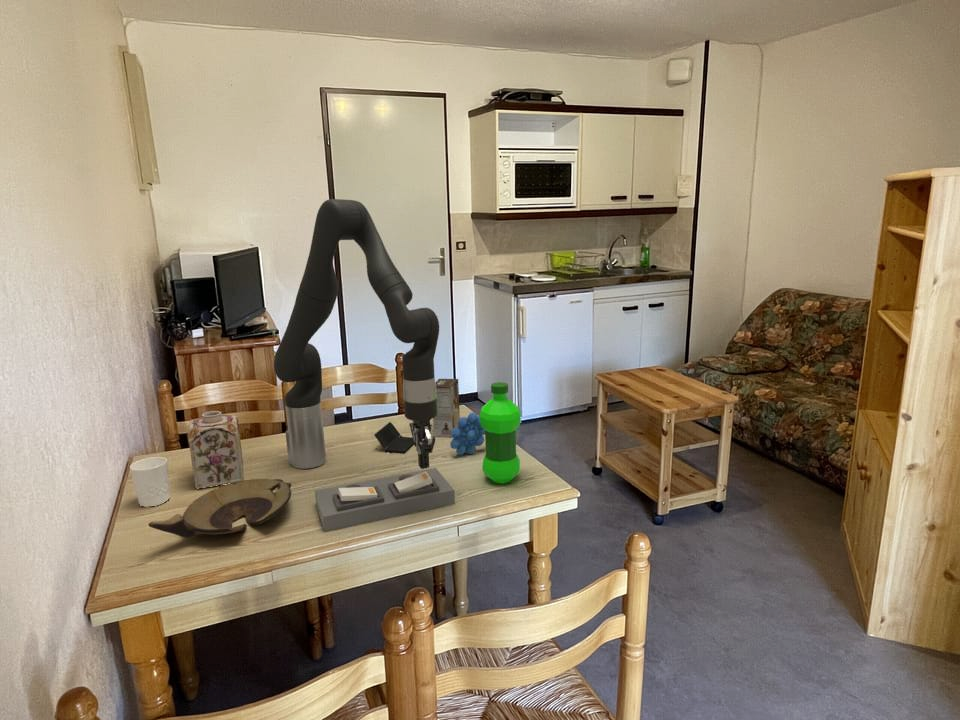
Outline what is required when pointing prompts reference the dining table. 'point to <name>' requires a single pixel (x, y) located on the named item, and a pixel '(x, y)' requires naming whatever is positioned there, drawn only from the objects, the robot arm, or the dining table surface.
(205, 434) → the decorative jar
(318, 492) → the rocker switch panel
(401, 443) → the handheld gaming console
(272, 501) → the oil lamp
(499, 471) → the plastic bottle
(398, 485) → the right rocker
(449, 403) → the coffee box
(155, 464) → the white cup
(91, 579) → the dining table surface
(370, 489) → the left rocker
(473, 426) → the grapes
